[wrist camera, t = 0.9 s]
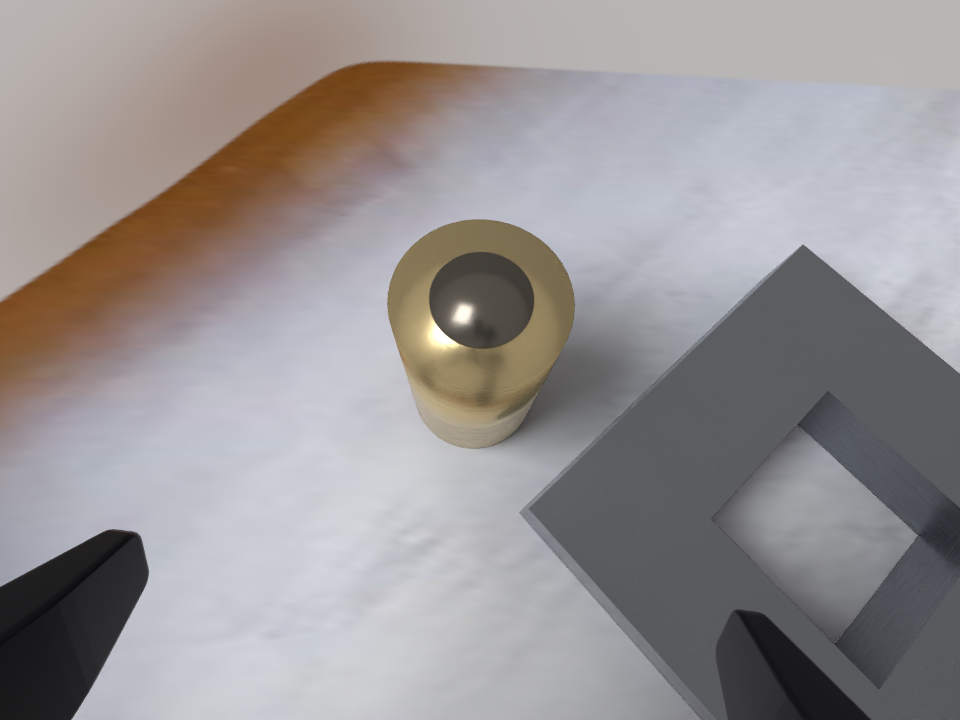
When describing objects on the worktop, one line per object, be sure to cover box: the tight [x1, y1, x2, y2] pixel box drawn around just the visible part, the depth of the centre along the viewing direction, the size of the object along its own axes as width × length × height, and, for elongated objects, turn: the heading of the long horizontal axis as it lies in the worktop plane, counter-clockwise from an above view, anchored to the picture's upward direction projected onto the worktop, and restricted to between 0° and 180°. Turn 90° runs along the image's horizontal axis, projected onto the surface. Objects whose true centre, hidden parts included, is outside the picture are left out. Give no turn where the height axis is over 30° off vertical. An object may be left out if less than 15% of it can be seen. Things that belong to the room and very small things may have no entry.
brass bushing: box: [387, 220, 575, 448], centre depth 18 cm, size 5×5×9 cm
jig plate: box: [519, 245, 960, 720], centre depth 20 cm, size 16×16×3 cm
